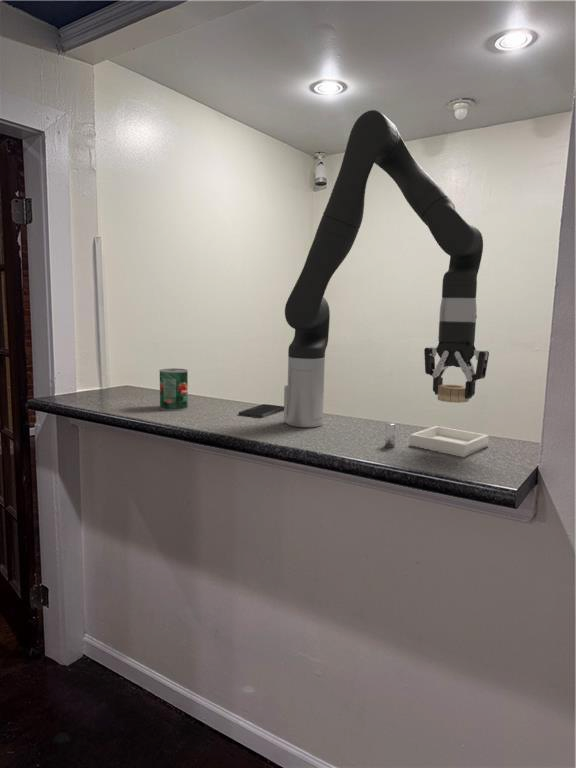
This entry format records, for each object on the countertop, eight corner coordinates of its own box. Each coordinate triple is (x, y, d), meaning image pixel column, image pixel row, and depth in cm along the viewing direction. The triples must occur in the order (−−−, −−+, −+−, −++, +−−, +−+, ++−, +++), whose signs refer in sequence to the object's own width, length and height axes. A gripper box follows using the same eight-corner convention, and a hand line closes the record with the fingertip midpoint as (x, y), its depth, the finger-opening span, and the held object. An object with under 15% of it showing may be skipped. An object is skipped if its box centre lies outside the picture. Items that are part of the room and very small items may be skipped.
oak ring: (432, 399, 118) (433, 386, 117) (445, 396, 123) (446, 383, 122) (460, 403, 114) (461, 389, 113) (472, 400, 118) (473, 386, 118)
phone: (287, 406, 157) (261, 415, 144) (286, 410, 157) (261, 419, 144) (263, 403, 160) (236, 412, 147) (263, 407, 161) (236, 416, 147)
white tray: (409, 445, 119) (409, 434, 119) (435, 436, 128) (436, 425, 128) (463, 457, 111) (464, 445, 110) (487, 446, 120) (488, 435, 120)
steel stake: (382, 446, 118) (384, 423, 117) (388, 444, 120) (389, 422, 119) (391, 448, 117) (392, 425, 116) (396, 446, 118) (398, 423, 118)
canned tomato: (190, 410, 153) (190, 371, 151) (162, 411, 150) (161, 372, 148) (184, 404, 160) (184, 368, 158) (157, 406, 157) (157, 368, 155)
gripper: (418, 319, 118) (415, 394, 120) (483, 320, 108) (478, 402, 111) (434, 318, 123) (430, 390, 126) (497, 320, 114) (492, 398, 116)
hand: (453, 396), depth 118 cm, fingers closed on oak ring, 6 cm apart
